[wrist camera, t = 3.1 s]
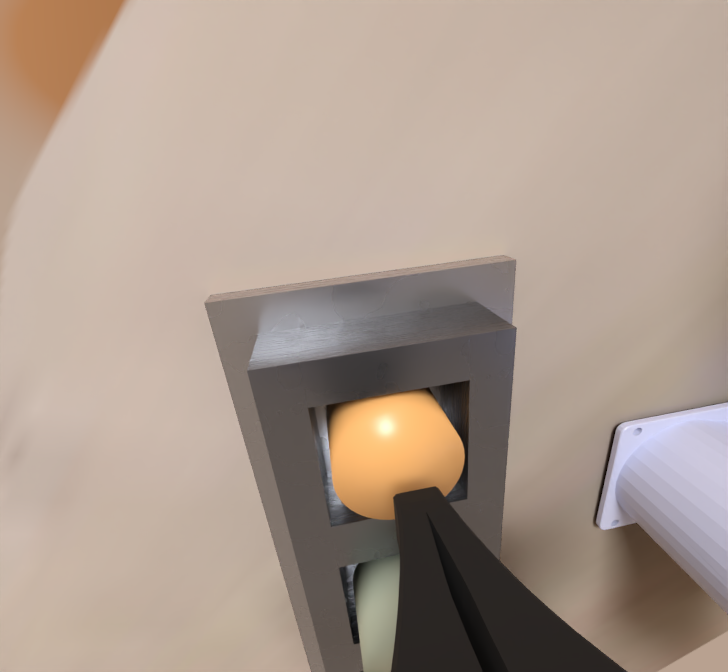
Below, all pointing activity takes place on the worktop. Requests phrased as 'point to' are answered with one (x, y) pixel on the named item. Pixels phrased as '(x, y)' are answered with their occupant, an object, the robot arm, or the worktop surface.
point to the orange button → (391, 450)
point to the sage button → (377, 610)
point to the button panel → (357, 381)
